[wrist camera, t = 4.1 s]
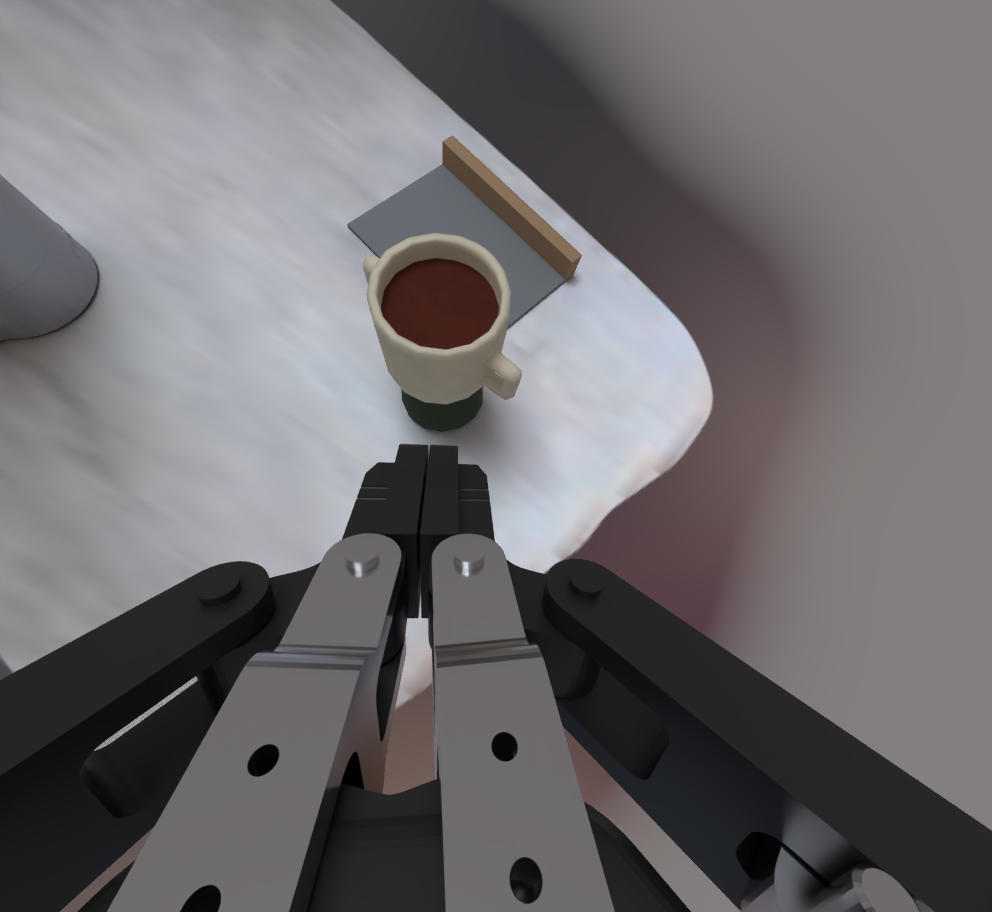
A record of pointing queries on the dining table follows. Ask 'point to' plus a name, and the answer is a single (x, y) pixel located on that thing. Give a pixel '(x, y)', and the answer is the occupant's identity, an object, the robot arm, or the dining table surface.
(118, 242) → the dining table surface
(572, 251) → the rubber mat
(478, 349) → the character mug
